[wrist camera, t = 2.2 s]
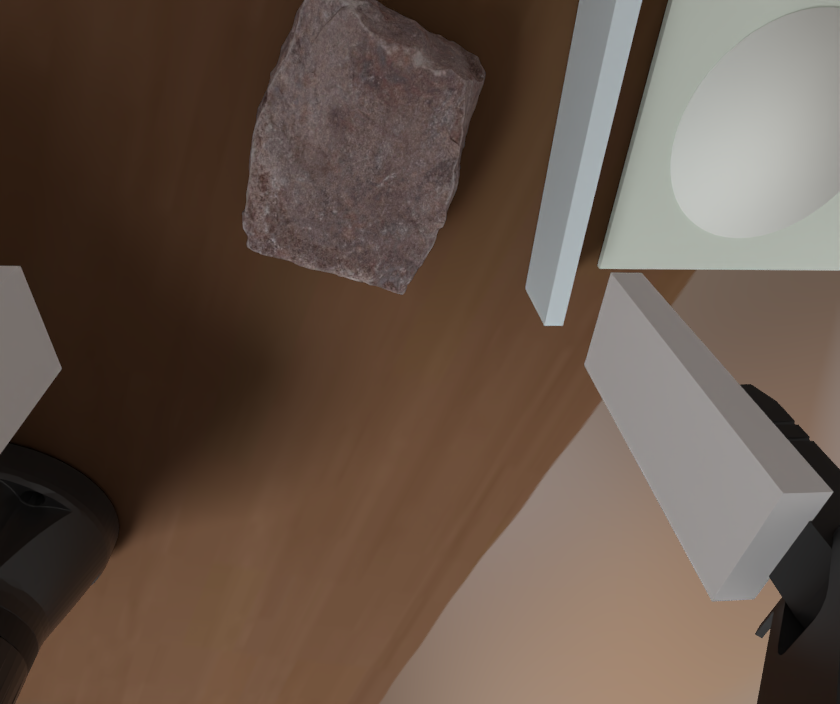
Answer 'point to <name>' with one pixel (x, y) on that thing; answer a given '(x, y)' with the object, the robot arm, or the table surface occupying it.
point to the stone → (359, 142)
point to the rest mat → (735, 142)
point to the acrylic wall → (579, 149)
